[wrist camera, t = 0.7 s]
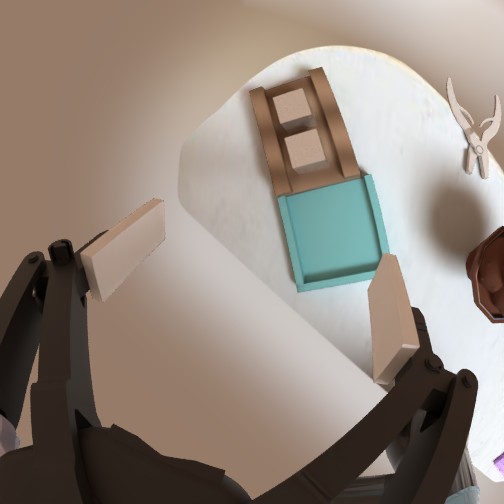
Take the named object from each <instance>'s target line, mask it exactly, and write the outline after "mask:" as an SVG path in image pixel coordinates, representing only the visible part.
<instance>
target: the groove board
mask: <svg viewBox="0 0 504 504" xmlns="http://www.w3.org/2000/svg"><path fill="white" fill-rule="evenodd" d="M309 73H310V76H309V77H305V78H302V79H299V80H296V81H292V82H289V83H286V84H283V85H280V86H277V87H275V88H272V89H269V90H266V91H265V89H264V88H263V87H259V88H256V89H254V90H251V91H249V93H250V96H251V100H252V104H253V107H254V111H255V115H256V119H257V122H258V126H259V130H260V134H261V138H262V142H263V146H264V150H265V154H266V158H267V162H268V166H269V170H270V174H271V178H272V182H273V187H274V191H275V195H277V196H280V197H282V196H286V197H289V196H293V195H297V194H301V193H304V192H308V191H312V190H316V189H320V188H324V187H328V186H332V185H336V184H340V183H344V182H348V181H352V180H357V179H361V177H360V171H359V168H358V164H357V161H356V158H355V154H354V151H353V148H352V145H351V142H350V139H349V136H348V133H347V130H346V127H345V124H344V121H343V118H342V116H341V113H340V110H339V107H338V105H337V102H336V100H335V97H334V94H333V92H332V89H331V87H330V84H329V82H328V80H327V77H326V75H325V73H324V70H323V68H322V67H320V68H316V69H313V70H309ZM301 88H303V90H304V92H305V94H306V96H307V98H308V100H309V102H310V105H311V108H312V111H313V114H314V117H315V120H316V123H317V126H314V127H310V128H307V129H304V130H300V131H297V132H294V133H290V134H289V133H288V132H287V131H286V129H285V128H284V127H283V126H282V125H281V124H280V120H279V117H278V114H277V110H276V107H275V104H274V100H273V97H276V96H279V95H282V94H285V93H288V92H291V91H294V90H298V89H301ZM313 129H317V131H318V133H319V135H320V137H321V139H322V142H323V145H324V148H325V152H326V155H327V158H328V162H329V165H330V167H328V168H324V169H320V170H316V171H313V172H309V173H305V174H302V175H300V174H299V173H298V172H296V171H295V170H294V169H293V168H292V164H291V160H290V156H289V152H288V149H287V145H286V142H285V138H286V137H289V136H293V135H296V134H299V133H303V132H306V131H309V130H313Z"/></svg>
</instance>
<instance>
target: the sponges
mask: <svg viewBox="0 0 504 504" xmlns="http://www.w3.org/2000/svg"><path fill="white" fill-rule="evenodd" d="M494 465H495V466H496V467H497V468H498V469H499V471H500V472H501V474H502V475H503V476H504V454H502V455H501V456H500V457H499V458H497V459H496V460H495V461H494Z"/></svg>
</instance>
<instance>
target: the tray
mask: <svg viewBox="0 0 504 504" xmlns="http://www.w3.org/2000/svg"><path fill="white" fill-rule="evenodd" d="M277 199H278V203H279V207H280V212H281V216H282V220H283V225H284V229H285V234H286V238H287V243H288V248H289V252H290V257H291V262H292V266H293V271H294V276H295V281H296V286H297V291H298V292H304V291H310V290H316V289H322V288H328V287H333V286H339V285H344V284H350V283H355V282H360V281H365V280H370V279H373V277H374V275H375V273H376V270H377V268H378V266H379V263H380V261H381V258H382V256H383V254H384V252H385V253H388V254H390V252H389V246H388V241H387V236H386V231H385V226H384V222H383V217H382V213H381V209H380V205H379V201H378V197H377V193H376V189H375V185H374V182H373V178H372V175H371V174H370V175H365V176H364V178H361V179H357V180H352V181H348V182H344V183H340V184H336V185H332V186H328V187H324V188H320V189H316V190H312V191H308V192H304V193H301V194H297V195H293V196H289V197H286V196H282V197H279V198H277Z"/></svg>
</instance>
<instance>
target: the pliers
mask: <svg viewBox="0 0 504 504" xmlns="http://www.w3.org/2000/svg"><path fill="white" fill-rule="evenodd" d="M446 91H447V98H448V102H449V104H450V106H451V109H452V112H453V114H454V117H455V118H456V120H457V122H458V124H459V125H460V126H461V128H462V129H463V131H464V133H465V135H466V137H467V140H468V142H469V143H470V146H469V150H468V158H467V168H466V173H467V174H469V175H470V174H472V172H473V169H474V165H475V162H476V158H477V157H479V158H478V159H479V163H480V169H481V175H482V179H487V178H489V161H488V151H487V143H488V142H489V140H490V139H491V138H492V137H493V136H494V135H495V134H496V133H497V131H498V129H499V126H500V122H501V121H500V120H501V105H500V100H499V97H498V95H495V108H494V115H493V117H492V118H487V119H485V120H484V121H483V122H482V123H481V124H480V125H479V128H480V127H481V126H482V125H483V123H485V122H492V123H491V125H490V126H489V128H488V129H487V130H485V131H484V132H483V133H482V136H481V141H480V140H479V139H477V138H476V136H475V132H474V131H473V129H472V128H471V127H470V125H469V124H468V122H467V121H466V120H465V118H464V117H463V115H462V113H464V114H465V115H466V116H467V118H468V119H469V121H470V123H471V124H472V125H473V124H474V122H473V120H472V118H471V116H470V115H469V113H468V112H467V111H466V110H465V109H464V108H462V107H461V106H460V105H459V104H458V103H457V102H456V99H455V95H454V92H453V87H452V83H451V79H450V78H448V79H447V85H446ZM461 112H462V113H461Z"/></svg>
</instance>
